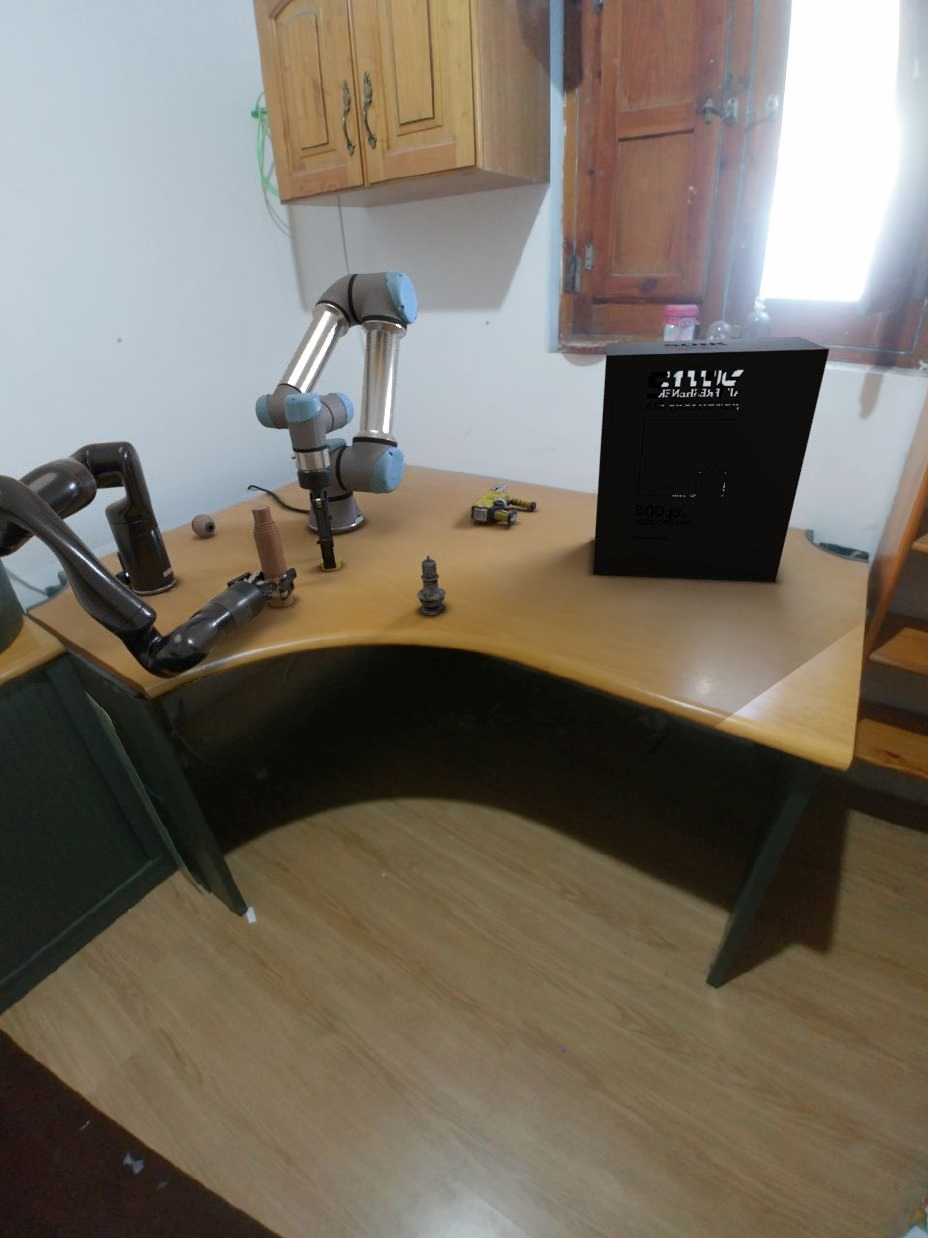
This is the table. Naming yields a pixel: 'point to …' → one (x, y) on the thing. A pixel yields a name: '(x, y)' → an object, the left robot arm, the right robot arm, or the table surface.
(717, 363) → the cardboard box
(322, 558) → the cap
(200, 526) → the eyeball
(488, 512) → the toy gun
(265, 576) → the bottle
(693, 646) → the table surface
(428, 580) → the dark grey tiered piece
